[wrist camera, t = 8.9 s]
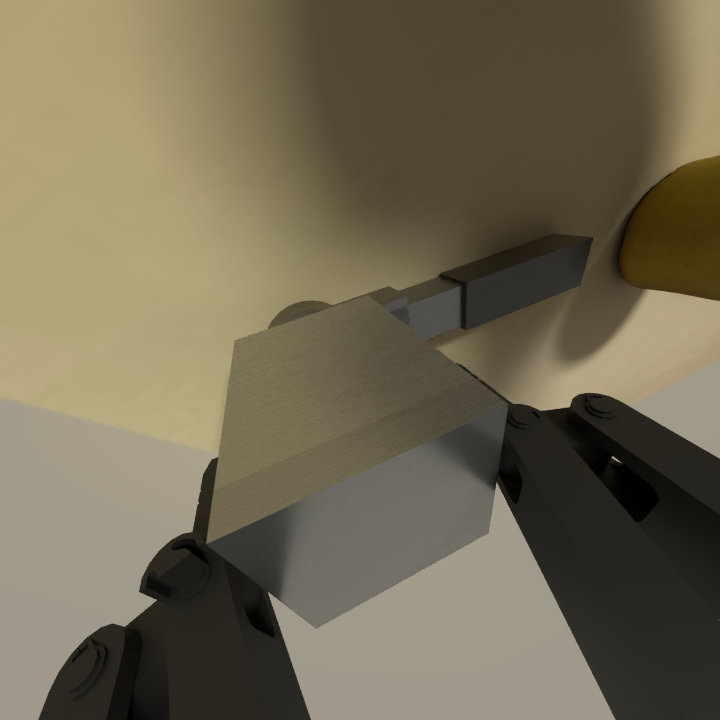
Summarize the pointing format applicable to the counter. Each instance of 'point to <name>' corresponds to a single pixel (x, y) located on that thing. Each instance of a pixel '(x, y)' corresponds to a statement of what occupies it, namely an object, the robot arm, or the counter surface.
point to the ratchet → (477, 287)
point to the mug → (677, 234)
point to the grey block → (350, 458)
